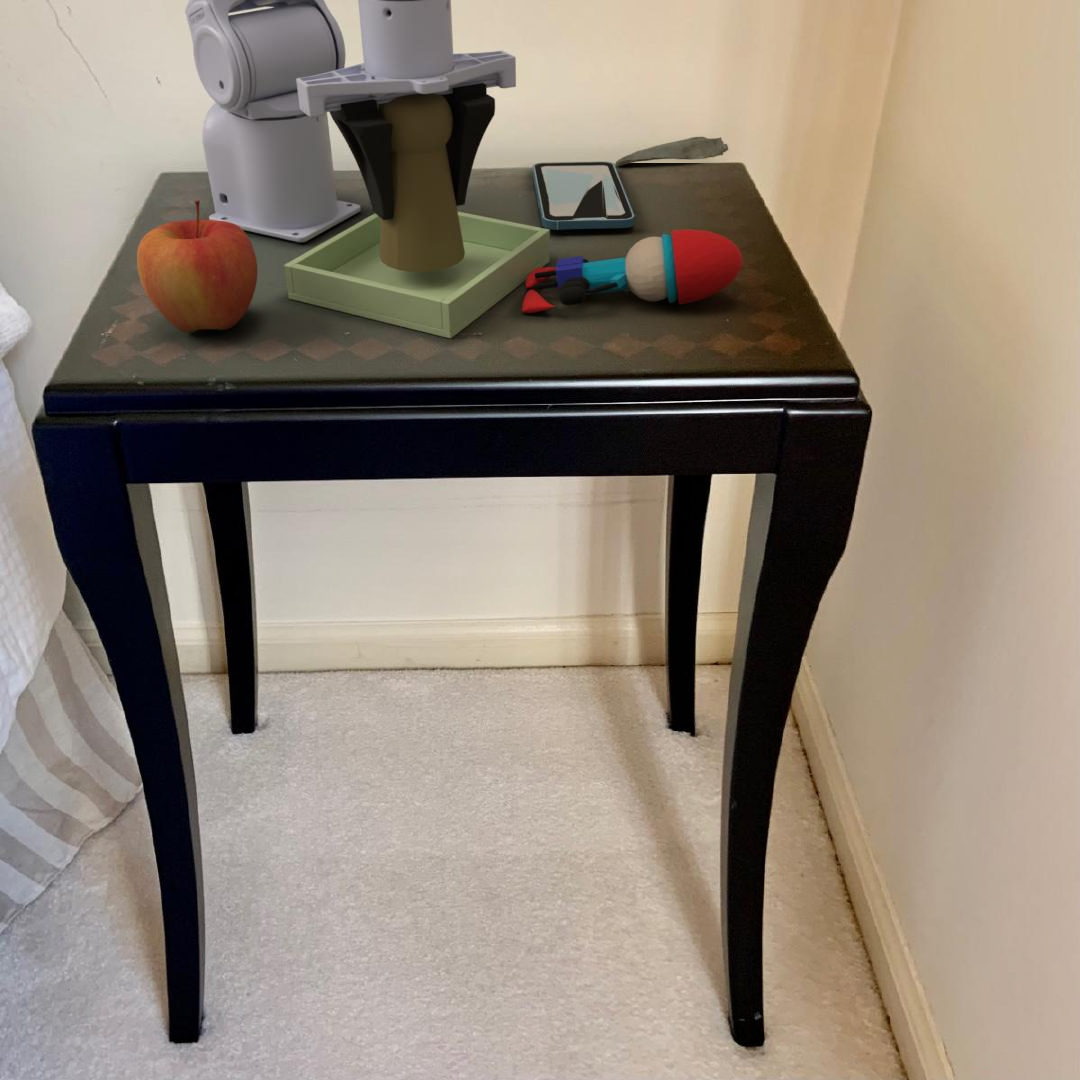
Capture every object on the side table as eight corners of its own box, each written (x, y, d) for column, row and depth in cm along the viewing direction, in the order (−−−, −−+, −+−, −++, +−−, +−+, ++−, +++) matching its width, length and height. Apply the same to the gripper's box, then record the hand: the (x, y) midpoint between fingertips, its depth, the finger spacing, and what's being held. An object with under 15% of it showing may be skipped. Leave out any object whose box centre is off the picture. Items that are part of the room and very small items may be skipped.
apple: (136, 350, 70) (106, 229, 65) (174, 301, 76) (149, 187, 71) (248, 354, 70) (227, 232, 65) (278, 304, 75) (261, 189, 71)
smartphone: (614, 161, 97) (637, 219, 85) (613, 172, 98) (636, 231, 85) (531, 162, 97) (542, 221, 85) (531, 173, 97) (542, 233, 85)
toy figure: (525, 340, 74) (748, 312, 72) (512, 270, 72) (743, 238, 69) (534, 301, 81) (740, 274, 78) (523, 235, 78) (735, 205, 76)
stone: (623, 159, 96) (602, 140, 100) (623, 177, 97) (602, 157, 101) (736, 142, 99) (712, 124, 103) (735, 159, 100) (710, 140, 104)
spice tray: (288, 298, 76) (283, 264, 75) (401, 230, 86) (398, 199, 85) (450, 339, 71) (448, 303, 70) (549, 261, 81) (550, 229, 80)
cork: (429, 231, 81) (420, 75, 74) (482, 255, 77) (477, 94, 71) (362, 253, 78) (346, 92, 71) (414, 279, 74) (402, 112, 68)
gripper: (314, 16, 62) (341, 247, 70) (538, -9, 67) (538, 207, 76) (274, -6, 67) (303, 212, 75) (486, -28, 72) (491, 177, 81)
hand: (418, 207), depth 76 cm, fingers closed on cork, 5 cm apart
